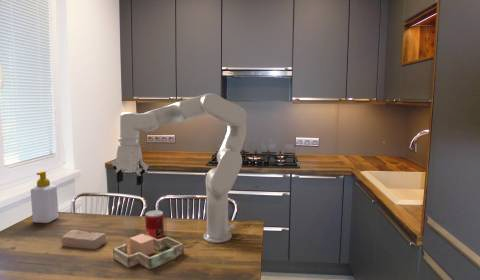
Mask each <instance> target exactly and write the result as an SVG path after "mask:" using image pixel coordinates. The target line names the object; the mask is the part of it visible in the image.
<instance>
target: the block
mask: <svg viewBox="0 0 480 280" xmlns="http://www.w3.org/2000/svg"><path fill="white" fill-rule="evenodd" d="M129 251H130V253H132V254H135V253H138V252H141V253H143V254H145V255H147V256H149V255H151V254H154V253H155V249H154V239H153V238H151V237H149V236H146V234H144V233H141V234H137V235H135V236H132V237H129Z"/></svg>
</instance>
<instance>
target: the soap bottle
mask: <svg viewBox="0 0 480 280" xmlns="http://www.w3.org/2000/svg"><path fill="white" fill-rule="evenodd" d="M36 175H37V176H39V178H38V179H37V181H36V186H34V187H32V188H31V189H30V201H31V212H32V213H31V214H32V222H33V223H37V224H38V223H40V224H41V223H42V224H49V223H51V222H52V221H55V220H56V219H59V217H60V216H59V204H58V188H57V185H55V184H51V181H50V179H49V178H47V173H46V171H45V170H42V171H39V172H36Z"/></svg>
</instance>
